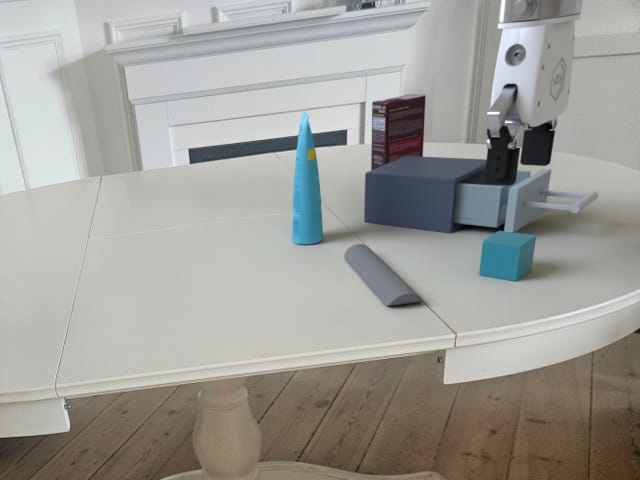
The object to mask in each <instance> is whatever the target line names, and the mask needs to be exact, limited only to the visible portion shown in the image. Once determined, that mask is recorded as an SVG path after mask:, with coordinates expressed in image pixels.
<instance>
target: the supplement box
mask: <svg viewBox="0 0 640 480" xmlns="http://www.w3.org/2000/svg"><path fill="white" fill-rule="evenodd" d="M426 96H427V95H426V94H416V93H415V94H405V95H401V96H396V97H391V98H386V99H380V100H375V101H374V100H373V101H371V107H372V108H371V109H372V110H371V153H370V154H371V158H370V159H371V162H370V171H371V170H374V169H376V168H378V167H381V166H383V165H385V164H388V163H390V162H393V161H395V160H397V159H400V158H402V157H405V156H420V157H424V139H425V116H426V100H427V99H426Z"/></svg>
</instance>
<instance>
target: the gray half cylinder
mask: <svg viewBox="0 0 640 480" xmlns="http://www.w3.org/2000/svg"><path fill="white" fill-rule="evenodd" d="M344 260H345V261H346V262H347V264H349V266H350V267H351V268H352V269H353V270H354V271H355V272H356V273H357V275H358V276H359V278H361V280H362V281H364V283H365V284H366V285H367V287H369V289H370V290H371V291H372V292H373V293H374V294H375V295H376V296H377V298H378V299H379V300H380V301H381V302H382V304H384V305H385V306H388V307H389V306H398V305H408V304H414V303H422V302H423V299H422V297H421V296H420V295H419V294H418V293H417V292H416V291H415V290H414V289H413V288H412V287H411V286H410V285H409V284H408V283H406V282H405V281H404V279H402V277H400V276H399V275H398V274H397V273H396V272H395V270H393V269H392V268H391V267H390V266H389V265H388V264H387V263H386V262H385V261H384V260H383V259H382V258H381V257H380V256H379V255H378V254H376V252H375V251H373V250H372V249H371V248H370V247H369V246H368V245H366V244H363V243H356V244H352V245H351V246H349V247H348V248H347V249H346V250H345V253H344Z"/></svg>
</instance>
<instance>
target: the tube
mask: <svg viewBox="0 0 640 480" xmlns="http://www.w3.org/2000/svg"><path fill="white" fill-rule="evenodd" d="M309 119H310V115H309V114H308V112H307V111H306V110H305V109H303V110H302V114H301V118H300V123H299V129H298V136H297V143H296V153H295V163H294V164H295V165H294V176H293V192H292V211H291V213H292V214H291V242H292V243H293V244H297V245H313V244H318V243H320V242H322V241H323V239H324V230H323V229H324V228H323V227H324V226H323V210H322V209H323V208H322V195H321V184H320V174H319V165H318V158H317V152H316V151H317V150H316V147H315V142H314V138H313V133H312V129H311V125H310V122H309Z"/></svg>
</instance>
